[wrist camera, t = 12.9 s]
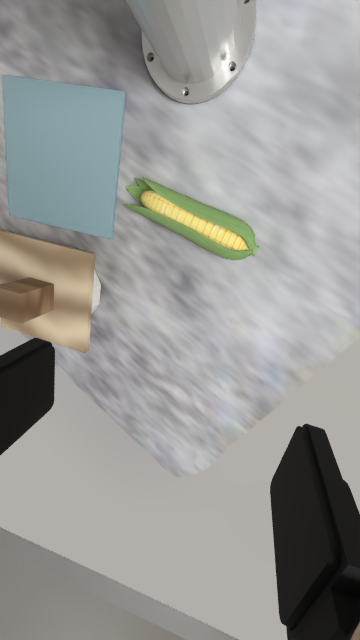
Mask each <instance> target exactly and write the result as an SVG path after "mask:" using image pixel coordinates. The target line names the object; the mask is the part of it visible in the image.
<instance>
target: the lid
mask: <svg viewBox="0 0 360 640" xmlns="http://www.w3.org/2000/svg"><path fill="white" fill-rule="evenodd" d="M95 257H96V253H93V252H89V251H85V250H81V249H77V248H73V247H69V246H65V245H61V244H57V243H53V242H49V241H45V240H41V239H37V238H33V237H29V236H26V235H22V234H18V233H14V232H10V231H6V230H2V229H0V317H1V325H2V326H3V327H6V328H9V329H12V330H15V331H18V332H21V333H24V334H27V335H30V336H34V337H37V338H40V339H43V340H46V341H49V342H52V343H55V344H58V345H62V346H65V347H68V348H71V349H74V350H77V351H80V352H83V353H86V352H87V351H88V350H89V339H90V325H91V312H92V298H93V284H94V270H95Z"/></svg>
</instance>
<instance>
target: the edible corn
mask: <svg viewBox="0 0 360 640" xmlns="http://www.w3.org/2000/svg"><path fill="white" fill-rule="evenodd" d="M135 179H136V181H137V183H138V185H139V186H135V185H131V186H127V187H126V188H127V190H128V191H129V193H130V194H131V195H132V196H133V197H134V198H136V199H137V200H138V201H139V202H141V203H142V204H143V206H141V207H140V206H134V205H128V204H122V205H124V206H125V207H127V208H128V209H130V210H132V211H134V212H136V213H138V214H140V215H142V216H145V217H147V218H149V219H151V220H153V221H155V222H157V223H159V224H161V225H163V226H165V227H167V228H168V229H170V230H172V231H174V232H176V233H178V234H180V235H182V236H183V237H185V238H187V239H189V240H191V241H192V242H194V243H196V244H198V245H200V246H201V247H203V248H205V249H207V250H209V251H211V252H213V253H215V254H217V255H218V256H220V257H222V258H226V259H230V260H241V259H244V258H246V257H248V256H250V255H253V256H254V255H255V254H256V252H257V250H258V248H259V246H257V245H256V243H255V234H254V232H253V230H252V228H251V227H250V226H249V225H248V224H247V223H245V222H244V221H243V220H241V219H239V218H237V217H234V216H232V215H230V214H228V213H225V212H223V211H220V210H218V209H215V208H213V207H210V206H208V205H205V204H203V203H201V202H198V201H196V200H194V199H191V198H189V197H187V196H184V195H182V194H180V193H177V192H175V191H173V190H171V189H168V188H166V187H164V186H162V185H159V184H157V183H155V182H153V181H151V180H148V179H146V178H144V177H143V179H144V181H143V180H140V179H137V178H135Z"/></svg>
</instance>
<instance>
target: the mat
mask: <svg viewBox="0 0 360 640" xmlns="http://www.w3.org/2000/svg"><path fill="white" fill-rule="evenodd" d="M2 76H3V97H4V117H5V138H6V159H7V180H8V201H9V215H10V216H15V217H19V218H23V219H27V220H31V221H36V222H40V223H44V224H48V225H52V226H56V227H61V228H65V229H69V230H73V231H77V232H82V233H86V234H90V235H94V236H98V237H103V238H107V239H111V240H112V239H113V228H114V217H115V207H116V196H117V185H118V174H119V164H120V153H121V142H122V131H123V121H124V110H125V99H126V92H124V91H117V90H110V89H103V88H96V87H88V86H81V85H74V84H67V83H60V82H52V81H45V80H38V79H31V78H24V77H17V76H9V75H2Z"/></svg>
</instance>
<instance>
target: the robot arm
mask: <svg viewBox="0 0 360 640" xmlns="http://www.w3.org/2000/svg"><path fill="white" fill-rule="evenodd" d="M126 2H127V4H128V6H129V7H130V9H131V11H132V13H133V15H134V16H135V18H136V20H137V22H138V24H139V25H140V27H141V29H142V35H141V40H142V50H143V55H144V59H145V63H146V66H147V68H148V70H149V73H150V75H151V77H152V78H153V80H154V81H155V83H156V84H157V86H158V87H159V88H160V89H161V90H162V92H164V93H165V94H166V95H167V96H169V97H170V98H172V99H174V100H176V101H178V102H182V103H187V104H195V103H201V102H205V101H208V100H210V99H212V98H214V97H216V96H218V95H219V94H220V93H222V92H223V91H224V90H226V89H227V88H228V87H229V86H230V85H231V83H232V82H233V81H234V80H235V79H236V78H237V76H238V75H239V73H240V72H241V70H242V68H243V67H244V65H245V62H246V60H247V58H248V56H249V53H250V50H251V47H252V44H253V40H254V34H255V27H256V3H255V0H126ZM246 2H248V3H246ZM245 3H246V4H245ZM153 59H154V60H153ZM152 60H153V61H152ZM232 68H234V69H235V70H234V71H232V72H231V69H232ZM186 93H189V94H188V95H187V96H185V95H186ZM54 367H55V349H54V347H52V344H51V342H49V341H46V340H43V339H39V338H34V339H31V340H30V341H28V342H26V343H24V344H22V345H20V346H18V347H16V348H14V349H12V350H11V351H8V352H6V353H5V354H3V355H1V356H0V455H1V454H2V453H3V452H4V451H5V450H7V449H8V448H9V447H10V446H11V445H12V444H13V443H14V442H15V441H17V440H18V439H19V438H20V437H21V436H22V435H23V434H24V433H25V432H26V431H27V430H28V429H30V428H31V427H32V426H33V425H34V424H35V423H36V422H37V421H38V420H39V419H41V417H43V416H44V415H45V414H46V413H47V412H48V411H49V410H50V409H51V407H52V406H53V403H54V373H55V372H54V370H55V368H54ZM270 493H271V508H272V520H273V521H272V522H273V535H274V548H275V562H276V576H277V590H278V603H279V615H280V620H281V623H282V624H284V625H286V626H287V638H288V640H360V514H359V511H358V509H357V506H356V504H355V501H354V498H353V495H352V493H351V490H350V488H349V486H348V484H347V483H346V482H345V481H344V480H343V479H342V476H341V473H340V471H339V468H338V465H337V462H336V459H335V457H334V454H333V451H332V449H331V446H330V443H329V440H328V437H327V435H326V433H325V430H323V429H321V428H318V427H315V426H311V425H309V424H304V425H303V427H300V426H298V427H297V428H296V430H295V432H294V434H293V436H292V438H291V440H290V443H289V445H288V447H287V449H286V451H285V453H284V455H283V457H282V460H281V462H280V464H279V466H278V468H277V470H276V472H275V474H274V477H273V479H272V482H271V487H270ZM0 640H238V639H236V638H234V637H232V636H230V635H228V634H226V633H224V632H222V631H220V630H218V629H216V628H214V627H212V626H210V625H208V624H206V623H204V622H202V621H200V620H198V619H195V618H193V617H191V616H189V615H187V614H185V613H183V612H181V611H178V610H176V609H174V608H172V607H170V606H168V605H166V604H163V603H161V602H159V601H157V600H155V599H153V598H151V597H149V596H147V595H144V594H142V593H140V592H138V591H136V590H134V589H132V588H130V587H128V586H125V585H123V584H121V583H119V582H117V581H115V580H113V579H110V578H108V577H106V576H104V575H102V574H100V573H98V572H95V571H93V570H91V569H89V568H87V567H85V566H83V565H80V564H78V563H76V562H74V561H72V560H70V559H67V558H65V557H63V556H61V555H59V554H57V553H55V552H52V551H50V550H48V549H46V548H44V547H42V546H40V545H37V544H35V543H33V542H31V541H29V540H27V539H24V538H22V537H20V536H18V535H16V534H13V533H11V532H9V531H7V530H5V529H3V528H1V527H0Z"/></svg>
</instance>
